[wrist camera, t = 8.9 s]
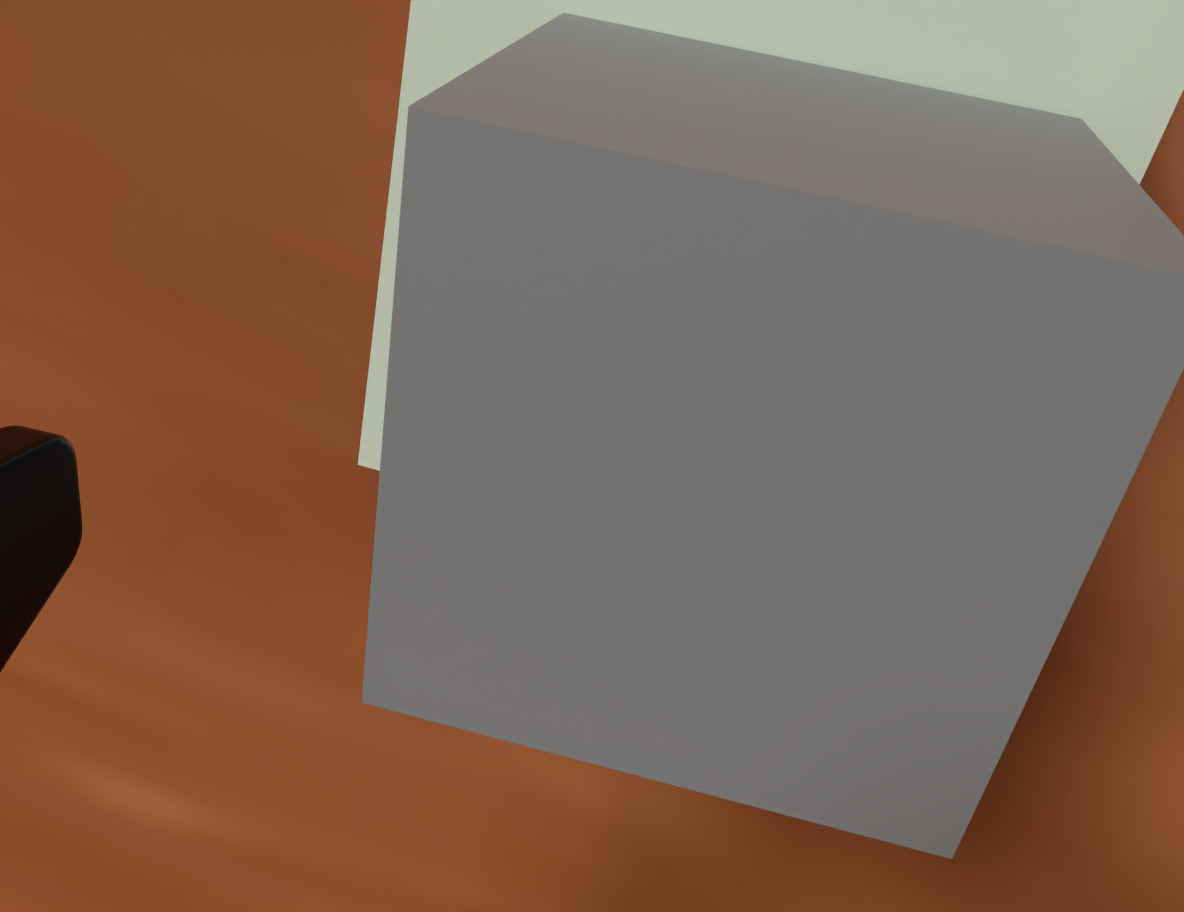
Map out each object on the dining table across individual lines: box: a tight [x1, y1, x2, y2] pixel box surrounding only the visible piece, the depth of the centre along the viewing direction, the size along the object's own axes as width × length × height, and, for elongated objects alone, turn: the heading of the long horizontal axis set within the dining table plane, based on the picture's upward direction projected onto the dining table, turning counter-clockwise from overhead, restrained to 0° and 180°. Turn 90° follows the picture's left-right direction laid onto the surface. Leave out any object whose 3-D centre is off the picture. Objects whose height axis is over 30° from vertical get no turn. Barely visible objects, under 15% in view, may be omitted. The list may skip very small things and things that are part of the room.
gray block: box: [362, 13, 1184, 859], centre depth 11 cm, size 6×6×5 cm
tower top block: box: [358, 0, 1184, 471], centre depth 14 cm, size 8×8×3 cm
